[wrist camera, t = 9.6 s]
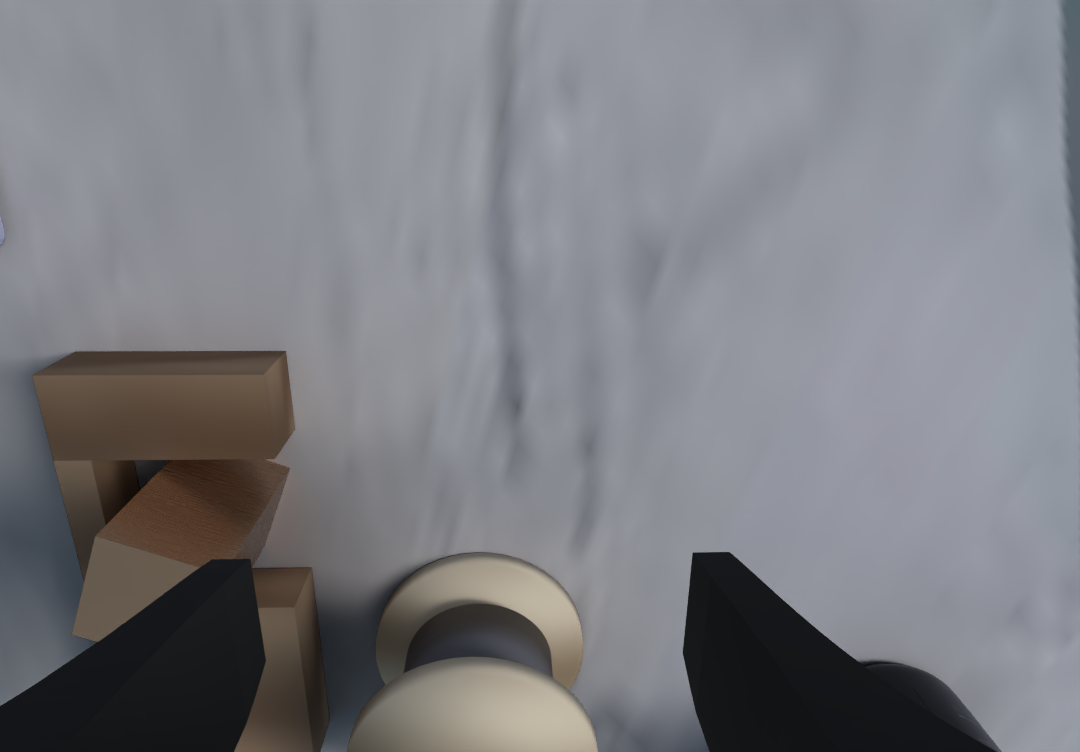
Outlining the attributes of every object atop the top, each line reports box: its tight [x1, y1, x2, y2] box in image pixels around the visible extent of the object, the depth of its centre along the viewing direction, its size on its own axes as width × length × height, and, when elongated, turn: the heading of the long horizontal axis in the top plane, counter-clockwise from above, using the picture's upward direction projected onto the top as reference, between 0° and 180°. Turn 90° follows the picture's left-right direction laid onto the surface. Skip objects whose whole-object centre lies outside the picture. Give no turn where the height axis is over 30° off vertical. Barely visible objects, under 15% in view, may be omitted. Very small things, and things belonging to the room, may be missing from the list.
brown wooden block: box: [72, 459, 290, 642], centre depth 20 cm, size 3×3×6 cm
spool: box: [347, 553, 598, 752], centre depth 22 cm, size 7×7×6 cm
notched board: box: [32, 351, 330, 752], centre depth 22 cm, size 14×6×2 cm, turn 179°
